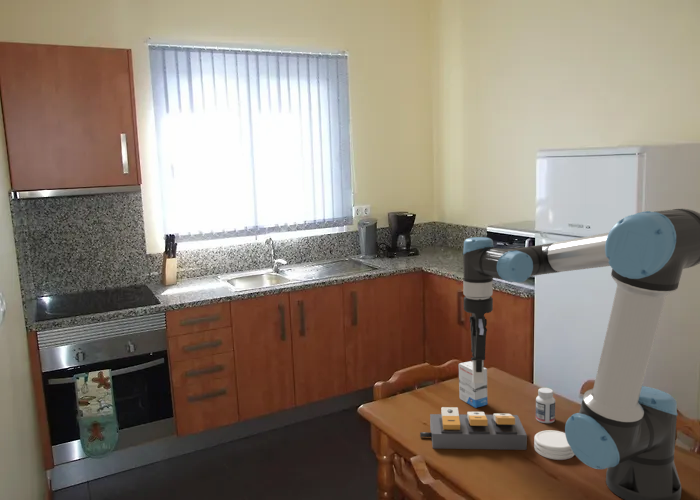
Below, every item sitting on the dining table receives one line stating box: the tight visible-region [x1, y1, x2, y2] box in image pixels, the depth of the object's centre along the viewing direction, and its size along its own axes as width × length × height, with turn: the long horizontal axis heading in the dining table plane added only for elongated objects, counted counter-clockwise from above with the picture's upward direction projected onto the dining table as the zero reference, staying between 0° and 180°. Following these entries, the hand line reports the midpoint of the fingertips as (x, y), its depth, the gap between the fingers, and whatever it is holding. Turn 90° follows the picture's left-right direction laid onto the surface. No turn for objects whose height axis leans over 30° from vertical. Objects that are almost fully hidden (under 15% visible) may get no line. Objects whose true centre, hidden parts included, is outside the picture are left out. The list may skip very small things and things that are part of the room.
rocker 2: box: [466, 411, 488, 426], centre depth 154 cm, size 7×4×2 cm, turn 175°
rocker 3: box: [492, 413, 515, 425], centre depth 154 cm, size 7×4×2 cm, turn 175°
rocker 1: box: [440, 406, 460, 430], centre depth 155 cm, size 7×4×2 cm, turn 175°
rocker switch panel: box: [419, 413, 528, 451], centre depth 156 cm, size 12×27×5 cm, turn 85°
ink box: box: [458, 360, 488, 409], centre depth 179 cm, size 9×5×12 cm, turn 25°
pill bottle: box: [535, 387, 556, 424], centre depth 166 cm, size 5×5×9 cm
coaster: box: [533, 429, 576, 461], centre depth 149 cm, size 10×10×4 cm
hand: (478, 382), depth 156 cm, fingers closed
